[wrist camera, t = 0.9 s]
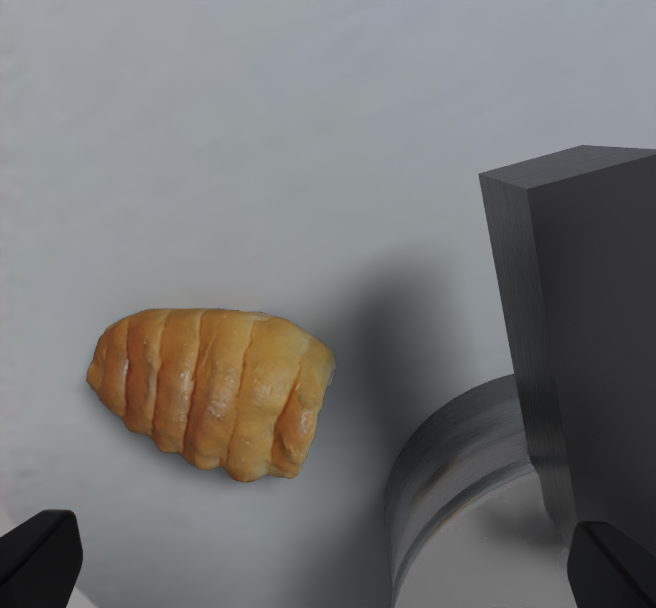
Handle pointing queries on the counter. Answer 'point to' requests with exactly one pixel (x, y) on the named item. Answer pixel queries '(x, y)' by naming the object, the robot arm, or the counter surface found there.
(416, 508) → the pot
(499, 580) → the lid
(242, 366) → the pastry
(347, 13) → the counter surface
